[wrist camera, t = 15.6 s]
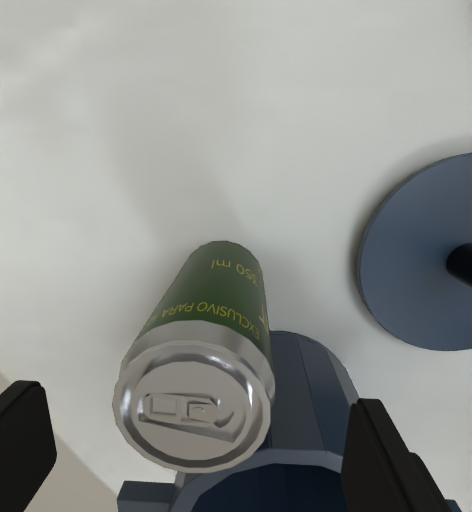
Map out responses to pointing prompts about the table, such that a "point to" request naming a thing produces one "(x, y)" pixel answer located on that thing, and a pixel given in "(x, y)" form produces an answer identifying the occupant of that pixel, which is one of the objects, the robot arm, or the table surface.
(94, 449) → the table surface
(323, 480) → the pot
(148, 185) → the table surface
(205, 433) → the beer can
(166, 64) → the table surface
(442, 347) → the lid
